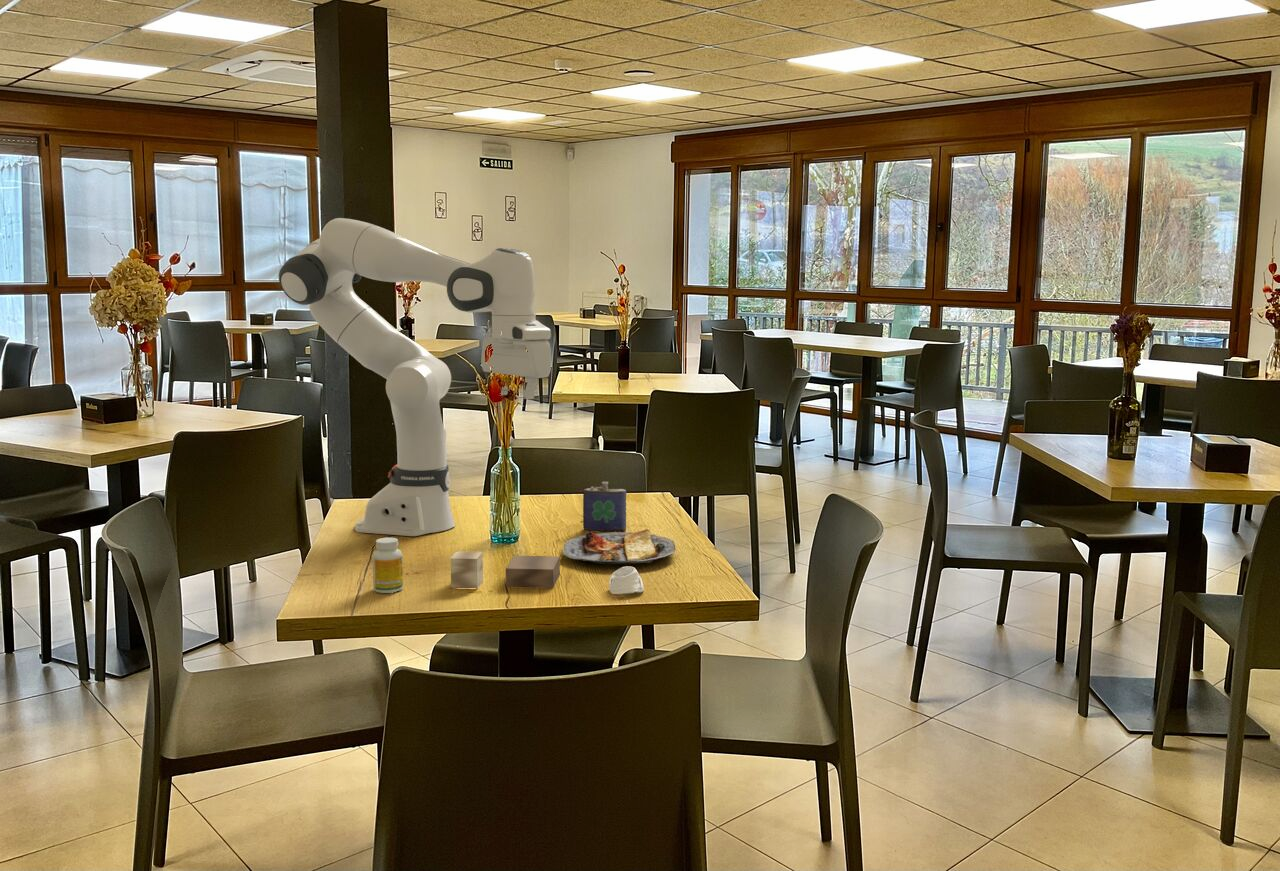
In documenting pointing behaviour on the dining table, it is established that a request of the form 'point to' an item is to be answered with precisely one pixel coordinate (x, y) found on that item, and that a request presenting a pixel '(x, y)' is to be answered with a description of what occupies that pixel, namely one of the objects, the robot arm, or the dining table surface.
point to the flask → (604, 509)
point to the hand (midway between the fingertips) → (515, 396)
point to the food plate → (619, 547)
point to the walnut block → (533, 571)
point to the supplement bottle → (387, 566)
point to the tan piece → (466, 569)
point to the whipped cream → (625, 581)
